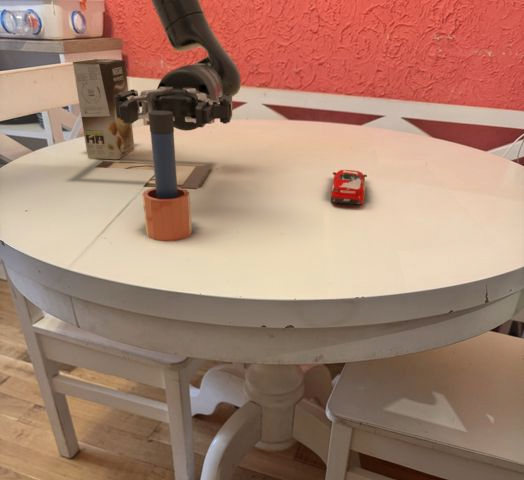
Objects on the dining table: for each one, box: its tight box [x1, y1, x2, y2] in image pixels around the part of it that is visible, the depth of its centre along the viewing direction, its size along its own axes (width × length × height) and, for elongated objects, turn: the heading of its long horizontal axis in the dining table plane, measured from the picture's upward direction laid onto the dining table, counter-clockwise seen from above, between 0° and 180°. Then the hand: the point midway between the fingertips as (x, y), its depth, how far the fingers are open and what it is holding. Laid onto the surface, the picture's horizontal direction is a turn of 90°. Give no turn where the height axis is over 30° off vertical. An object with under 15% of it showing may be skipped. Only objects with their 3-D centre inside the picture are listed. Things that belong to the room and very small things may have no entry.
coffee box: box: [72, 58, 135, 160], centre depth 94 cm, size 9×6×16 cm
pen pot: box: [141, 187, 193, 242], centre depth 63 cm, size 6×6×6 cm
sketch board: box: [95, 160, 212, 190], centre depth 86 cm, size 20×14×1 cm
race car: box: [330, 169, 368, 205], centre depth 79 cm, size 13×5×4 cm, turn 169°
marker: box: [148, 111, 178, 199], centre depth 60 cm, size 3×3×14 cm
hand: (162, 116), depth 57 cm, fingers open, 8 cm apart
